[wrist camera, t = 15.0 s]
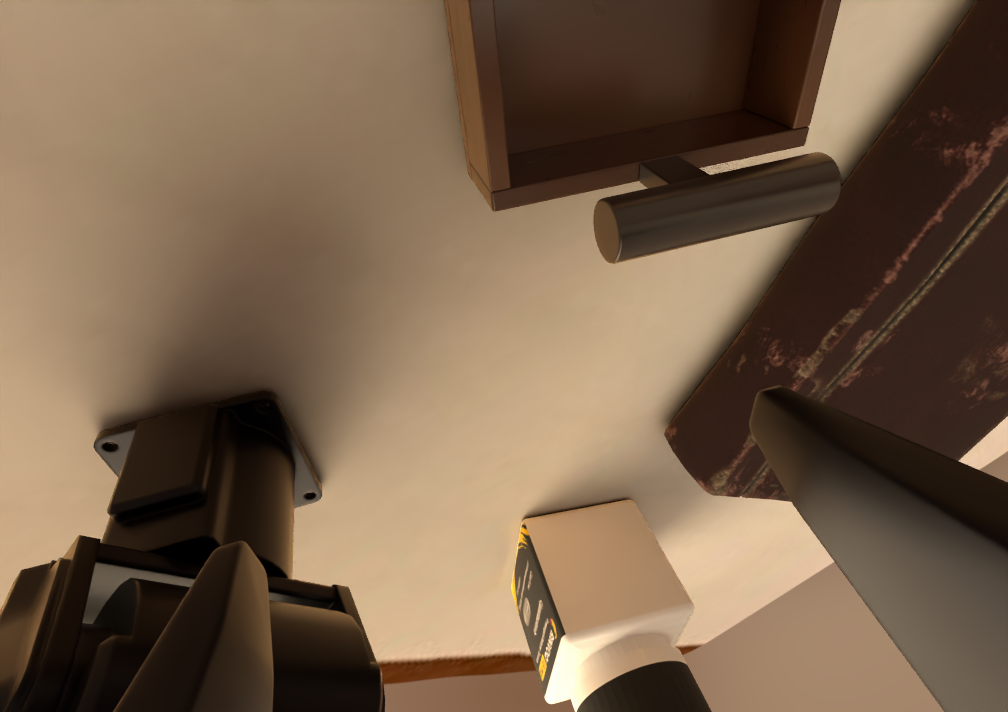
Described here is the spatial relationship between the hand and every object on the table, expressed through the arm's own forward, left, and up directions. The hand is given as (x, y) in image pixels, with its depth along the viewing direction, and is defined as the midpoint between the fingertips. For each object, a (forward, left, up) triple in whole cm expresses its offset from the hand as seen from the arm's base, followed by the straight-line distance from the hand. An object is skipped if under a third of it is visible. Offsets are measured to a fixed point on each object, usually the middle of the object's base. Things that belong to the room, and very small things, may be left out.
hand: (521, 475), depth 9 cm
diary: (-8, -24, -12) cm, 28 cm away
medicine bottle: (-23, -5, -12) cm, 26 cm away
